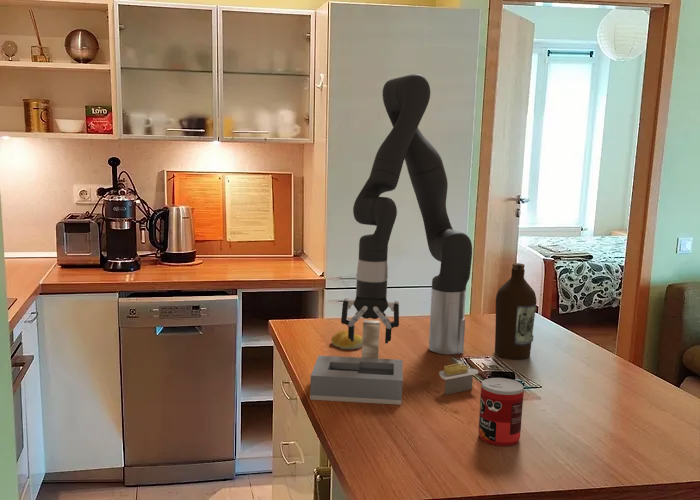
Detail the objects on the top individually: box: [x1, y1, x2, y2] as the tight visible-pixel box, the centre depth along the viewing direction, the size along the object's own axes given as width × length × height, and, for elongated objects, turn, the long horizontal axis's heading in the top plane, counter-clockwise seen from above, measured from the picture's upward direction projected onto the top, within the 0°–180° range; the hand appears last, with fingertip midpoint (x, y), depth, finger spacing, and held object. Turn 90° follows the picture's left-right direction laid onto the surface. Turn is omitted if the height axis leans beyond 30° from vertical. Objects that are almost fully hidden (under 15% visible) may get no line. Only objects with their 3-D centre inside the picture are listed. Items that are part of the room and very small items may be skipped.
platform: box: [438, 362, 479, 396], centre depth 156 cm, size 12×18×7 cm, turn 120°
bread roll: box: [330, 329, 363, 350], centre depth 188 cm, size 8×9×4 cm
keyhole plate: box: [309, 355, 404, 406], centre depth 154 cm, size 20×14×6 cm
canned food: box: [478, 377, 525, 447], centre depth 131 cm, size 8×8×11 cm
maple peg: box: [361, 319, 381, 359], centre depth 168 cm, size 6×6×12 cm
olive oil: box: [494, 262, 537, 360], centre depth 182 cm, size 11×11×25 cm
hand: (369, 341), depth 168 cm, fingers open, 8 cm apart
